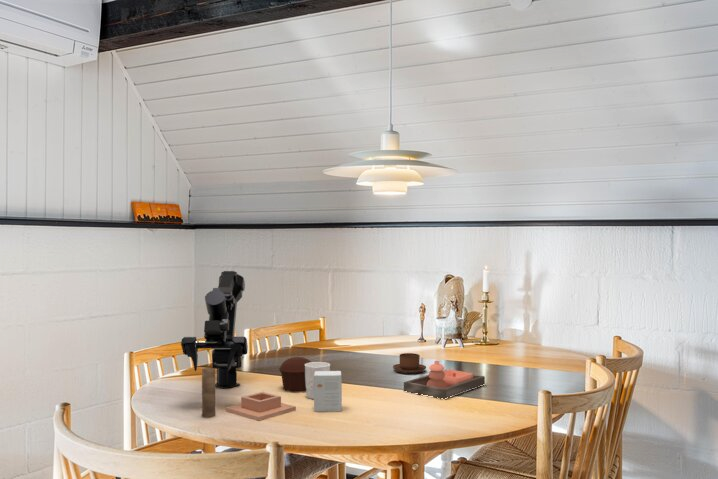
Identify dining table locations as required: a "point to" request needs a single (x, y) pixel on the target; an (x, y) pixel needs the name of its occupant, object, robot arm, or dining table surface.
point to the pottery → (446, 376)
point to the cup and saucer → (409, 363)
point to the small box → (327, 391)
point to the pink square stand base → (260, 406)
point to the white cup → (309, 375)
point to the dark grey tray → (421, 388)
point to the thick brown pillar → (208, 392)
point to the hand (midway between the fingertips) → (211, 370)
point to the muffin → (294, 374)
